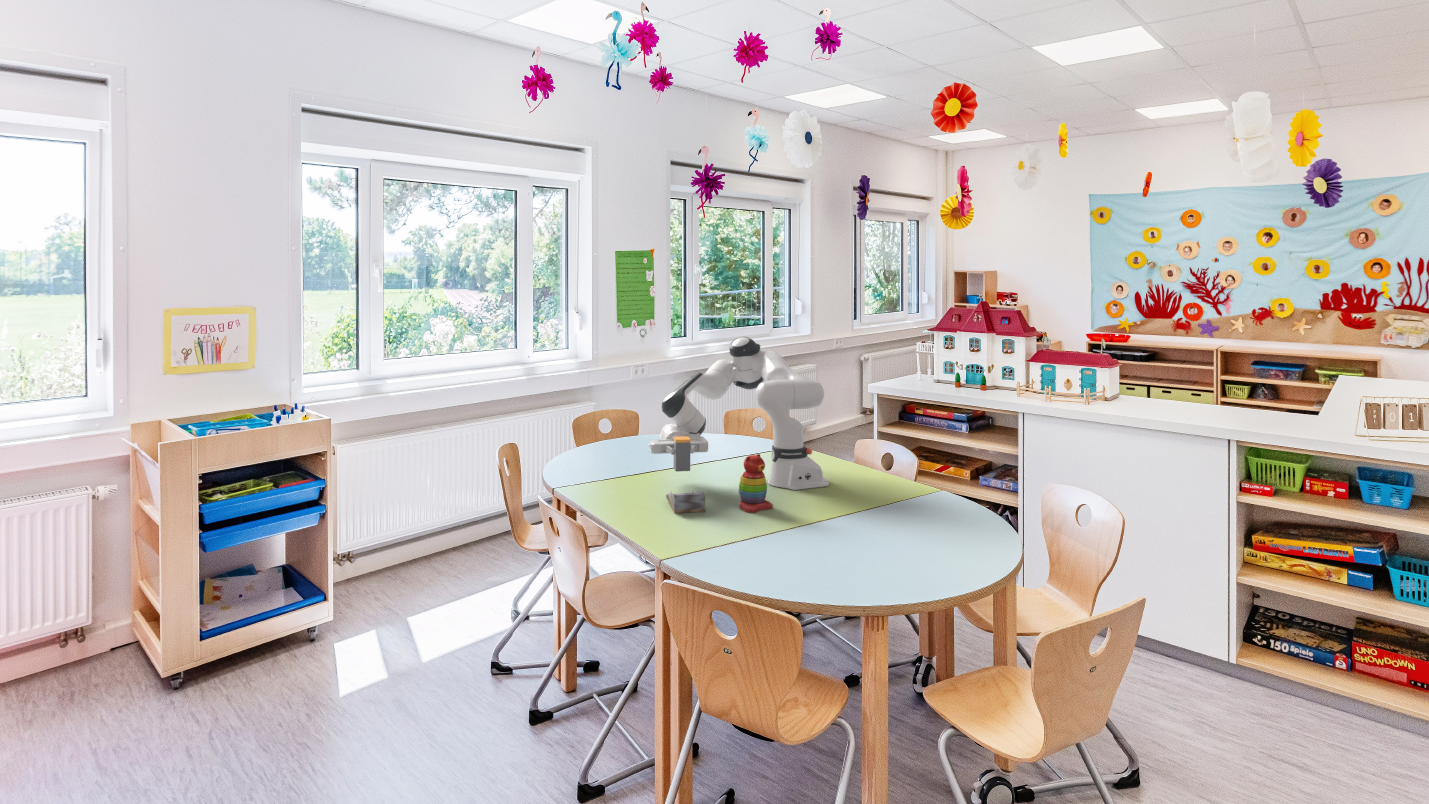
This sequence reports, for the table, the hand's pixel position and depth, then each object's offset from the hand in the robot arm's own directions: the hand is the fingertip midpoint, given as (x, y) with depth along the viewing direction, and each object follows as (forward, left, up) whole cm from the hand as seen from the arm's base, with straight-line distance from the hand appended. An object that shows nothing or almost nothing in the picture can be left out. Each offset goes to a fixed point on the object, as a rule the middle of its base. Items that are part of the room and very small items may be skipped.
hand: (682, 451), depth 260 cm
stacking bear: (-22, +13, -17) cm, 31 cm away
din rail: (0, +6, -17) cm, 18 cm away
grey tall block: (0, -1, -6) cm, 7 cm away
